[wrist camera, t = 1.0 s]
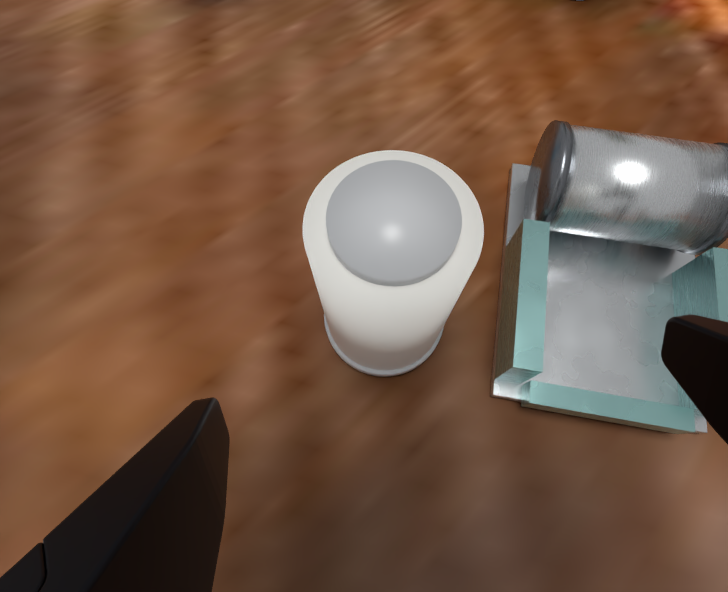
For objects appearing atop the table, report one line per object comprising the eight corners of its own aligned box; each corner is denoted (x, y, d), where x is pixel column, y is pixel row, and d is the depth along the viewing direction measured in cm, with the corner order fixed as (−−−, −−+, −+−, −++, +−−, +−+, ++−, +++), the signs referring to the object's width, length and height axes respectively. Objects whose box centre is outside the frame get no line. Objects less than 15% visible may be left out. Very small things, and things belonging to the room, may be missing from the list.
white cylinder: (460, 351, 23) (529, 264, 13) (352, 397, 22) (338, 342, 12) (411, 253, 25) (439, 113, 15) (310, 293, 24) (268, 172, 14)
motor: (698, 440, 21) (809, 431, 16) (489, 402, 22) (528, 382, 17) (682, 193, 26) (765, 121, 20) (509, 168, 26) (545, 93, 21)
